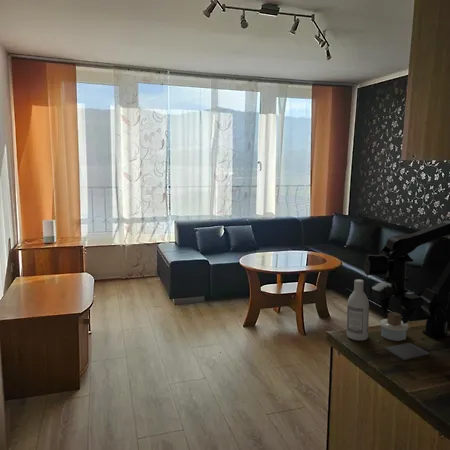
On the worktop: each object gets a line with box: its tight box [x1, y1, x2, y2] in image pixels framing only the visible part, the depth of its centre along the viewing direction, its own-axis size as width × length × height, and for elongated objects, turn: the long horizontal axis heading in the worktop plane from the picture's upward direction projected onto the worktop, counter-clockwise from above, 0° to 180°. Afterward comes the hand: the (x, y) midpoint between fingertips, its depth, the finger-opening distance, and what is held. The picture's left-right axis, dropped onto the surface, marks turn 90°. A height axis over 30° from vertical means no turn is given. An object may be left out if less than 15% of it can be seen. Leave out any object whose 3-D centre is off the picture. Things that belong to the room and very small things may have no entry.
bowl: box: [380, 326, 407, 342], centre depth 138 cm, size 8×8×4 cm
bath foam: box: [346, 278, 370, 342], centre depth 137 cm, size 7×7×20 cm
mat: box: [384, 342, 430, 361], centre depth 127 cm, size 10×8×1 cm
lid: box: [379, 311, 409, 332], centre depth 138 cm, size 9×9×4 cm
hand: (394, 318), depth 138 cm, fingers open, 9 cm apart
